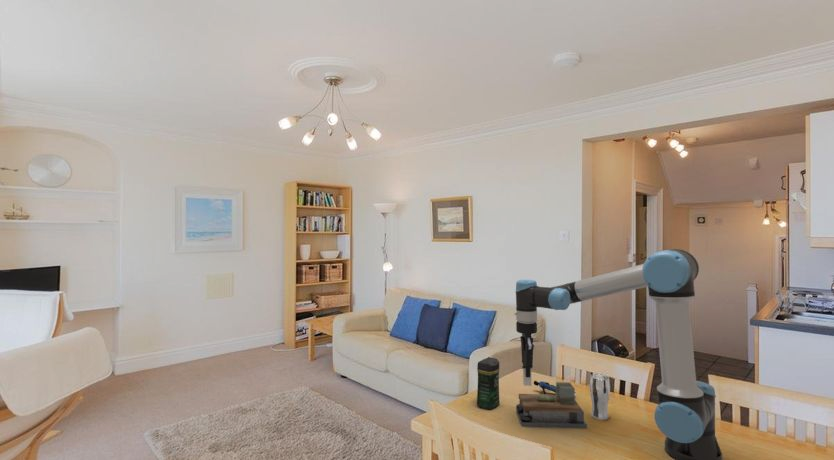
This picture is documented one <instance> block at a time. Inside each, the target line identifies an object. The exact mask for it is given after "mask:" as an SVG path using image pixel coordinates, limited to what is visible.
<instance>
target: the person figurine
mask: <svg viewBox="0 0 834 460" xmlns="http://www.w3.org/2000/svg"><path fill="white" fill-rule="evenodd" d="M533 385H534V386H538V387H540V388H541V389H542V391H543V394H544V395H547V394H546V390H548V391H551V392H553V393H555V394H556V385H554V384H550V383H549V382H547V381H537V380H533ZM576 397H577V392H575V398H576Z"/></svg>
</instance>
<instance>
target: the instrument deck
mask: <svg viewBox="0 0 834 460" xmlns="http://www.w3.org/2000/svg"><path fill="white" fill-rule="evenodd" d="M555 384H556V385H555V386H556V393H555V394H546V395H545V394H544V393H543V394H541V393H540V394H539V393H537V394H536V393H518V399H519V403H520V402H521V404H522V406H523V409H524V411H543V412H573V413H581V409H582V408H581V406H580V405H579V403H578V402H577V401H576V399H575V398H576V397H575V390H576V389H575V387H574V386H573V385H572V383H571V382H565V381H555Z"/></svg>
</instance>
